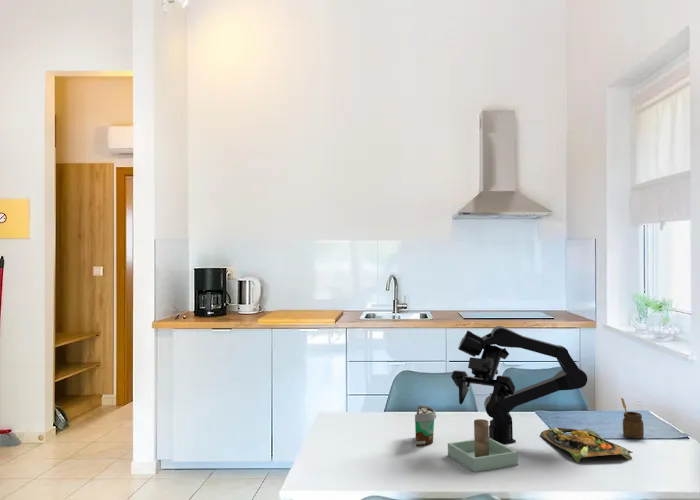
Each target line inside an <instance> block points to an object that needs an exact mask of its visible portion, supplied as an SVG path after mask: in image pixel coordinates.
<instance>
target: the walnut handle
mask: <svg viewBox="0 0 700 500" xmlns="http://www.w3.org/2000/svg"><path fill="white" fill-rule="evenodd" d="M489 426H490V424H489V421H488V420H487V419H479V418H477V419H474V420H473V427H474V428H473V431H474V433H473V434H474V442H475V458H476V457H482V456H489Z"/></svg>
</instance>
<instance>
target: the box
mask: <svg viewBox="0 0 700 500" xmlns="http://www.w3.org/2000/svg"><path fill="white" fill-rule="evenodd" d="M518 453H519V452H518V451H517V450H514V449H512V448H510V447H508V446H507V445H505V444H501V443H499V442H497V441H495V440H493V439H491V438H489V456H482V457H476V458H475V442H474V439H469V440H468V439H467V440H461V441H453V442H448V443H447V456H449V458H452V459H453V460H455V461H456V462H457V463H459V464H461V465H462V466H464V467H466V468H467V469H469V470H470V471H471V472H473V473H478V472H482V471H484V472H485V471H489V470H496V469H501V468H506V467H513V466H519V456H518V455H519V454H518Z"/></svg>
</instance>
